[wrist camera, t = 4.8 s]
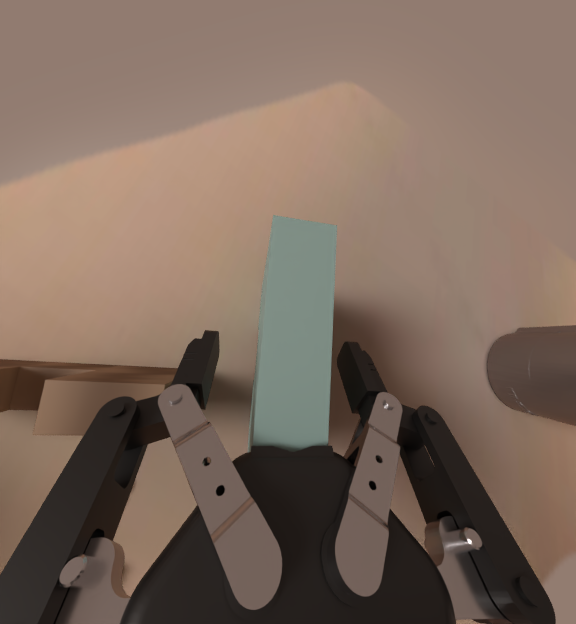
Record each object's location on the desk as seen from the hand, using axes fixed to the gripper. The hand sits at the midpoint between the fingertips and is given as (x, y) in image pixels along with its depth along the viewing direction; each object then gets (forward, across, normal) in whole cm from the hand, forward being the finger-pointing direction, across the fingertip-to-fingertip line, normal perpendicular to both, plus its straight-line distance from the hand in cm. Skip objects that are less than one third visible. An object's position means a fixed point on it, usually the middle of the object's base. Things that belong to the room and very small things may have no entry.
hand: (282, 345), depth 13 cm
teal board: (+5, 0, +7) cm, 8 cm away
